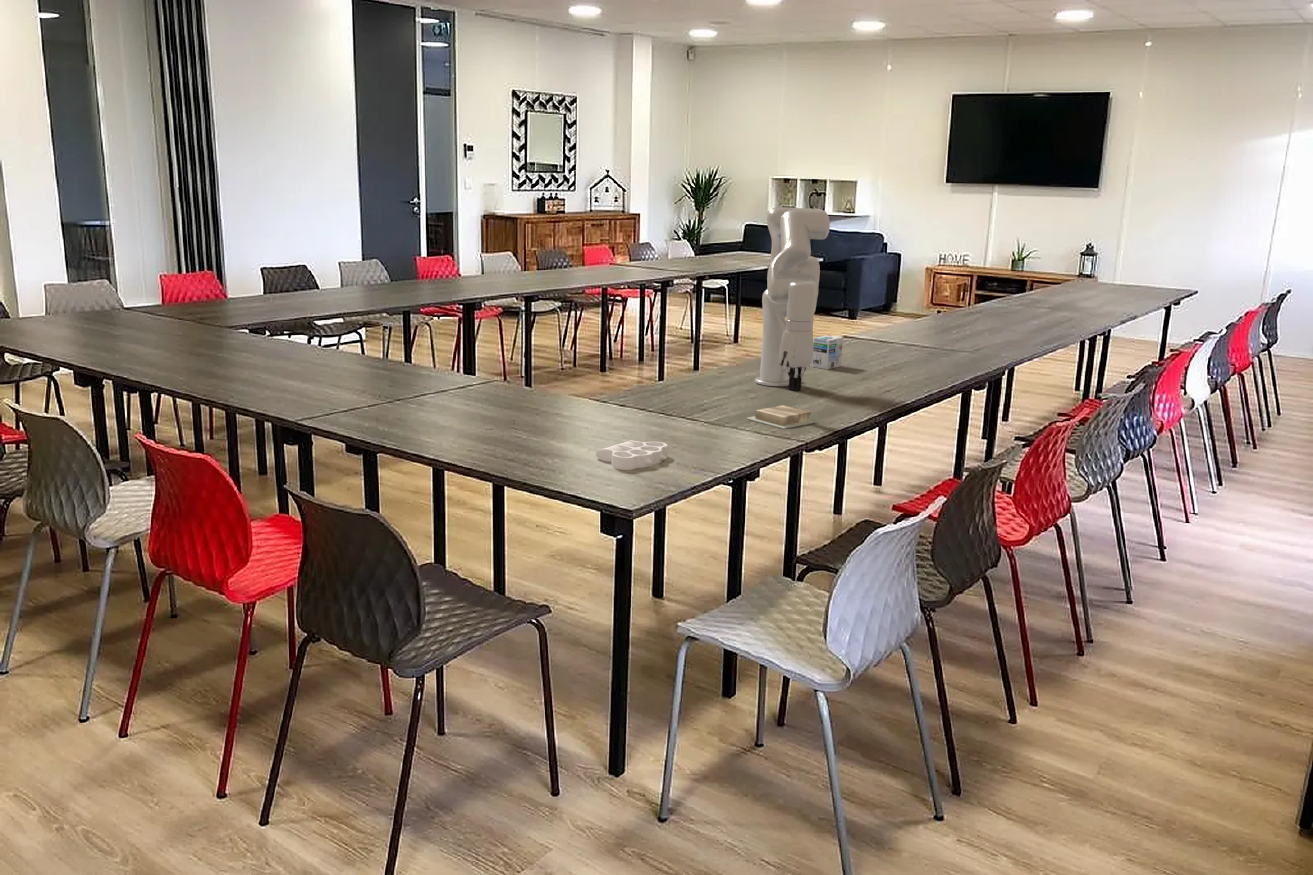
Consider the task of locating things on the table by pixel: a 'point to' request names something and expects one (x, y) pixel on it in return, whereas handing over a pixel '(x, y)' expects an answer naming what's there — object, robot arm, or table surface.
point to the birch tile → (782, 415)
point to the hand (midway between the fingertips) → (794, 390)
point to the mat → (780, 425)
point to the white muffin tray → (634, 454)
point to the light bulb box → (827, 352)
